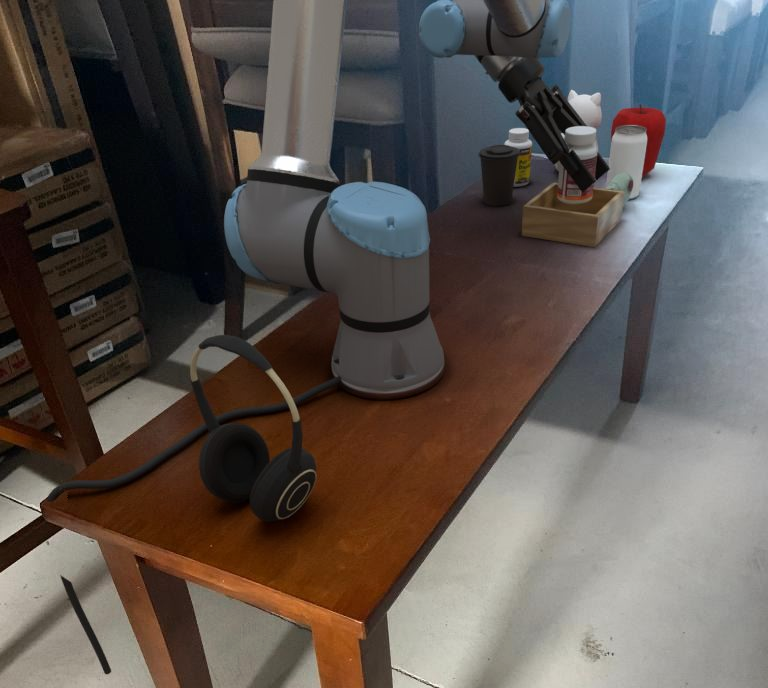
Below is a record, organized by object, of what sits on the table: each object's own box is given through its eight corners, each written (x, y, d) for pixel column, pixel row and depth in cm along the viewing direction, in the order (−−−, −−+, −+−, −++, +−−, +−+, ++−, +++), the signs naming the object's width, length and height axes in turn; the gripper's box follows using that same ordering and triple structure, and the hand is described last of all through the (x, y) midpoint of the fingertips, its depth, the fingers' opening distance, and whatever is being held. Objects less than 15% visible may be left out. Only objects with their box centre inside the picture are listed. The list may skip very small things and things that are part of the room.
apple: (628, 187, 154) (638, 113, 146) (595, 174, 161) (603, 103, 153) (668, 176, 158) (681, 103, 149) (634, 164, 165) (644, 94, 156)
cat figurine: (605, 166, 165) (615, 88, 155) (577, 183, 158) (586, 103, 148) (567, 161, 169) (574, 84, 160) (539, 177, 162) (544, 98, 153)
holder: (594, 247, 133) (598, 216, 129) (521, 235, 138) (523, 205, 135) (620, 221, 141) (625, 191, 138) (550, 211, 147) (553, 182, 144)
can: (608, 201, 149) (617, 135, 141) (601, 190, 154) (609, 125, 146) (642, 199, 149) (653, 132, 141) (634, 188, 154) (643, 123, 146)
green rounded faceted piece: (617, 201, 149) (622, 164, 144) (637, 205, 147) (643, 168, 142) (598, 214, 144) (602, 177, 140) (618, 218, 142) (624, 180, 138)
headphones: (288, 551, 78) (255, 380, 65) (190, 501, 86) (143, 338, 73) (341, 506, 83) (321, 339, 70) (244, 462, 91) (209, 303, 78)
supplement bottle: (518, 189, 157) (521, 135, 151) (497, 184, 160) (499, 131, 154) (535, 182, 160) (538, 129, 153) (514, 177, 163) (516, 125, 157)
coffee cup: (472, 206, 151) (473, 152, 145) (483, 193, 157) (484, 140, 150) (513, 209, 149) (515, 154, 142) (522, 195, 154) (525, 142, 148)
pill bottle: (599, 199, 136) (608, 129, 128) (574, 207, 133) (581, 137, 126) (573, 190, 140) (580, 122, 132) (549, 199, 137) (554, 130, 130)
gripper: (522, 72, 138) (599, 178, 141) (473, 98, 126) (559, 212, 129) (552, 39, 132) (632, 150, 136) (504, 62, 120) (593, 183, 124)
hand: (596, 180), depth 133 cm, fingers closed on pill bottle, 6 cm apart
